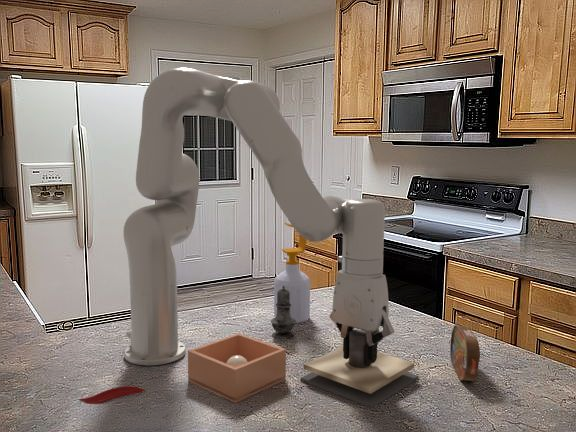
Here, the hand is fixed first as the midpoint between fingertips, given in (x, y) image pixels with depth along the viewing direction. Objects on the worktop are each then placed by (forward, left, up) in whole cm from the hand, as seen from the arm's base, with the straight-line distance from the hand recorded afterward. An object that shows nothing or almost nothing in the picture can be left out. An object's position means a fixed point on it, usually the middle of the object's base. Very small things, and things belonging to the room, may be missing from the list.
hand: (359, 359), depth 106 cm
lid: (0, 0, -2) cm, 2 cm away
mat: (0, 0, -4) cm, 4 cm away
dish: (-17, -16, -4) cm, 24 cm away
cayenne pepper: (-28, -35, -5) cm, 45 cm away
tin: (+13, +17, -4) cm, 22 cm away
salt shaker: (-27, +8, -4) cm, 28 cm away
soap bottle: (-34, +19, -4) cm, 39 cm away
